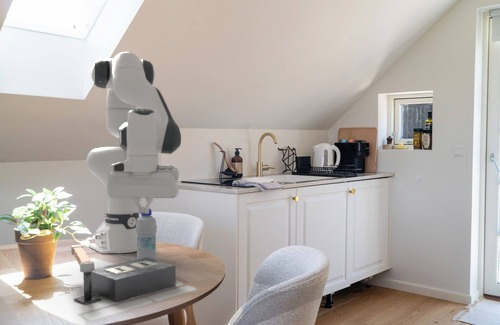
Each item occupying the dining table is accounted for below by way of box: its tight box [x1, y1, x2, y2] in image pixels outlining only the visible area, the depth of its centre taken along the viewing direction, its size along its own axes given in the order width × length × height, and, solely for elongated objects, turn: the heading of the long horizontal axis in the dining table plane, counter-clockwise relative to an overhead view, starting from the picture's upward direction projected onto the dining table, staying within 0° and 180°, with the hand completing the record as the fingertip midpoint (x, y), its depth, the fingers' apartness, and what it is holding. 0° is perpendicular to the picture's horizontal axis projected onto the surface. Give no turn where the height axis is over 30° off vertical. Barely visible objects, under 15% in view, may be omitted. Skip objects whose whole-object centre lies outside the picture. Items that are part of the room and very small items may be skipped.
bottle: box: [136, 208, 158, 260], centre depth 167 cm, size 7×7×20 cm
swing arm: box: [70, 244, 95, 273], centre depth 146 cm, size 25×4×2 cm, turn 25°
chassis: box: [91, 258, 177, 303], centre depth 147 cm, size 14×20×6 cm
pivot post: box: [73, 272, 102, 306], centre depth 136 cm, size 5×5×8 cm
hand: (143, 213), depth 149 cm, fingers closed
